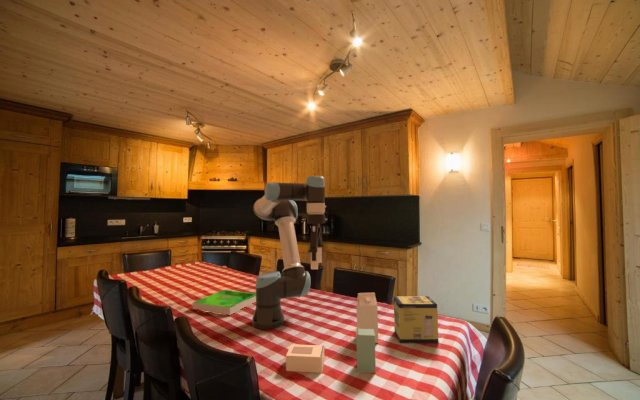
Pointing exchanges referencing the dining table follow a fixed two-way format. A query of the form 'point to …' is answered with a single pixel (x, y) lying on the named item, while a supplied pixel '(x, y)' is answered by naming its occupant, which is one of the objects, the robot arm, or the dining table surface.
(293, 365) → the block
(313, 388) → the dining table surface
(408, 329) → the protein box
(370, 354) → the pale green block
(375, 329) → the milk carton
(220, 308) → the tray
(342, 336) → the dining table surface
